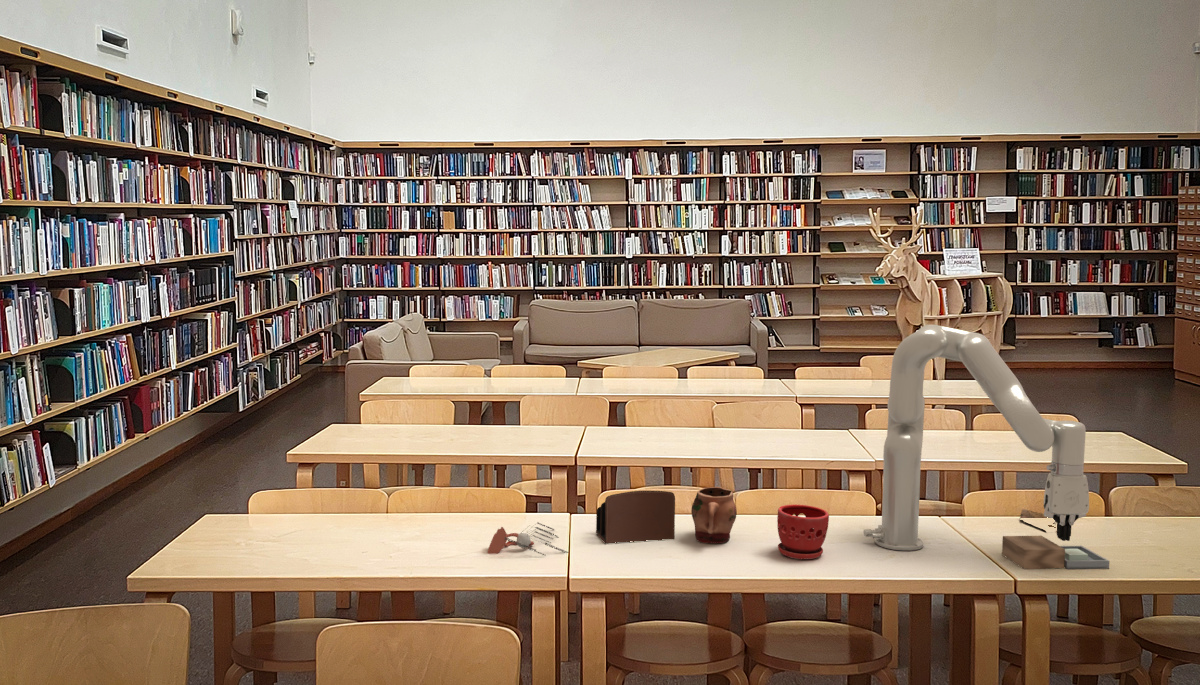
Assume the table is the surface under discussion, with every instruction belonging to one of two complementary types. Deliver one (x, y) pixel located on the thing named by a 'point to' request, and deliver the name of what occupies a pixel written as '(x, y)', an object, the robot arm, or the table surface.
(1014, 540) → the brown wooden box
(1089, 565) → the box
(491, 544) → the brown and grey pieces
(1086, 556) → the tile
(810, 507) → the plant pot
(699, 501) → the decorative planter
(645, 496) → the letter holder
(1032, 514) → the wooden fragment
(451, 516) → the table surface
